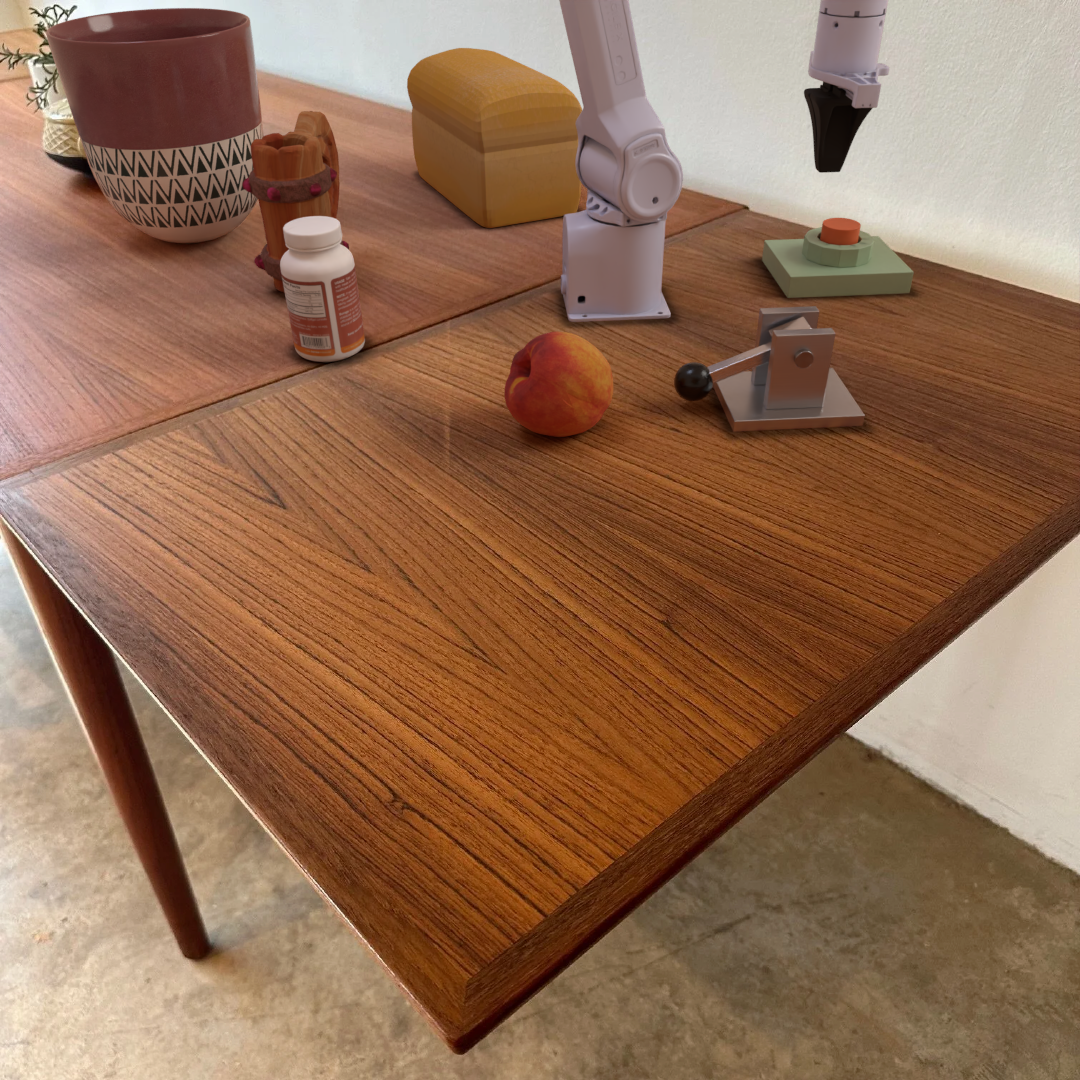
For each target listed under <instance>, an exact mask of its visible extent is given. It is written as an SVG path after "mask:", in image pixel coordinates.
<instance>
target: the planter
mask: <svg viewBox="0 0 1080 1080" xmlns="http://www.w3.org/2000/svg"><path fill="white" fill-rule="evenodd" d="M45 34H46V39H47V42H48V45H49V48H50V52H51V55H52V58H53V62H54V65H55V67H56V71H57V73H58V76H59V79H60V82H61V85H62V88H63V91H64V95H65V97H66V100H67V103H68V106H69V109H70V112H71V113H70V114H71V115H72V119H73V122H74V125H75V128H76V131H77V134H78V137H79V139H80V142H81V145H82V148H83V151H84V154H85V157H86V161H87V163H88V165H89V168H90V170H91V173H92V175H93V179H95V182H96V183H97V185H98V188H99V189H100V191H101V193H102V194H103V196H104V197H105V199H106V201H107V202H108V203H109V205H110V207H112V209H113V210H114V211H115V212H116V213H117V214H118V215H119V216H120V217H121V218H122V219H123V220H125V222H127V223H128V224H130V225H131V226H132V227H133V228H136V229H137V230H139V231H140V232H142V233H144V234H146V235H148V236H150V237H151V238H154V239H157V240H159V241H164V242H167V243H175V244H197V243H204V242H209V241H213V240H215V239H219V238H221V237H223V236H225V235H227V234H229V233H231V232H232V231H234V230H235V229H237V228H238V227H239V226H240V225H241V224H242V223H243V222H244V221H245V220H246V219H247V217H248V216H249V215H250V214H251V212H252V210H253V209H254V208H255V206H256V204H257V203H258V198H256V197H255V196H254V195H253V194H252V193H250V192H247V191H246V190H245V189H243V186H242V184H243V181H244V180H245V179H247V178H249V175H250V173H251V171H252V170H253V169H254V168H253V162H252V156H251V145H252V142H253V141H254V140H255V139H262V138H263V137H264V136H265V135H264V127H263V118H262V107H261V98H260V91H259V82H258V75H257V66H256V56H255V55H256V53H255V45H254V37H253V31H252V24H251V19H250V17H249V16H248V15H246V14H244V13H242V12H238V11H233V10H227V9H219V8H205V7H203V8H202V7H170V8H169V7H167V8H149V9H147V8H146V9H135V10H122V11H115V12H107V13H106V12H105V13H100V14H94V15H89V16H82V17H77V18H74V19H68V20H65V21H61V22H59V23H57V24H54V25H52V26H50V27H49V28H48V29H46V31H45Z"/></svg>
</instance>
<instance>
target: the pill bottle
mask: <svg viewBox="0 0 1080 1080" xmlns="http://www.w3.org/2000/svg"><path fill="white" fill-rule="evenodd" d="M283 232H284V239H285V243H286V247H287V248H289V250H288V251H286V252H285V253H284V255H283V256H282V258H281V261H280V268H281V275H282V280H283V286H284V291H285V293H284V296H285V302H286V308H287V312H288V313H287V314H288V319H289V325H290V330H291V335H292V341H293V346H294V349H295V352H296V353H297V354H298V355H299V356H300V357H301V358H303V359H304V360H308V361H312V362H319V363H331V362H332V363H333V362H337V361H342V360H345V359H348V358H350V357H352V356H355V355H356V354H358V353H359V352H360V351H361V350H362V349H363V348H364V346H365V342H366V336H365V327H364V321H363V314H362V307H361V306H362V305H361V300H360V293H359V292H360V291H359V285H358V278H357V271H356V264H355V259H354V258H355V257H354V256H353V253H352V252H351V250H350V249H349V250H348V249H347V248H346V247H345V246H343V245H341V244H340V243H341V241H343V231H342V225H341V222H340V220H338V219H335V218H332V217H326V216H310V217H303V218H298V219H295V220H292V221H290V222H288V223H287V224H285V225H284V227H283Z"/></svg>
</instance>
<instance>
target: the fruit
mask: <svg viewBox="0 0 1080 1080" xmlns="http://www.w3.org/2000/svg"><path fill="white" fill-rule="evenodd" d="M614 388H615V387H614V376H613V371H612V367H611V364H610V363H609V361H608V360H607V358H606V357H605V355H604V354H603V353H602V352H601V351H600V350H599V349H598V348H597V347H596V346H595V345H594V344H592V343H591V342H589V341H588V340H587V339H585V338H584V337H582V336H580V335H578V334H575V333H571V332H568V331H567V332H566V331H549V332H545V333H542V334H539V335H537V336H535V337H534V338H532V339H530V340H529V341H528V342H527V343H526V344H525V345H524V347H523V348H521V349H519V350H518V351H517V352H516V353H515V354H514V356H513V358H512V361H511V365H510V369H509V374H508V376H507V379H506V381H505V384H504V394H503V396H504V400H505V405H506V408H507V409H508V411H509V413H510V415H511V416H512V418H513V419H515V420H516V422H518V424H519V425H521V426H522V427H523V428H525V429H527V430H529V431H530V432H533V433H536V434H539V435H544V436H547V437H548V436H549V437H555V438H563V437H570V436H576V435H579V434H583V433H586V432H587V431H588V430H590V429H592V428H593V427H595V426H596V424H598V423H599V422H600V420H602V418H603V416H604V413H605V412H606V411H607V410H608V408H609V407H610V405H611V403H612V401H613V400H612V399H613V395H614Z"/></svg>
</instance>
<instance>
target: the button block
mask: <svg viewBox="0 0 1080 1080" xmlns="http://www.w3.org/2000/svg"><path fill="white" fill-rule="evenodd" d="M821 230H822V226H819V227H816V228H812V229H809V230H808V231H807V232H806V233H805V235H804V237H803V238H790V239H789V238H788V239H785V238H784V239H765V240H764V241H763V242H764V243H763V248H762V256H761V262H763V264H764V266H765V267H766V268H767V270H768V271H769V273H770V274H771V276H772V278H773V279H774V281H775V282H776V283H777V285H778V286H779V288H780V289H781V291H782V293H783V294H784V295H785V297H786V298H787V299H794V298H795V299H796V298H821V297H824V298H825V297H845V296H846V297H847V296H849V297H850V296H873V295H897V294H898V295H899V294H900V295H901V294H910V292H911V287H912V282H913V278H914V273H915V272H914V270H913V269H912V268H911V267H910V266H909V265H907V263H906V262H905V261H904V260H903V259H902V258H901V257H900V256H899V255H897V254H896V252H895V251H894V250H893V249H892V248H891V246H889V245H888V244H887V243H886V242H885V241H884V240H883V239H882V238H881V237H880V236H879V235H871V234H870V233H868V232H865V231H863V230H860V233H859V238H858V243H856V244H853V245H834V244H828V243H825V242H823V241H820V237H821Z"/></svg>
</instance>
